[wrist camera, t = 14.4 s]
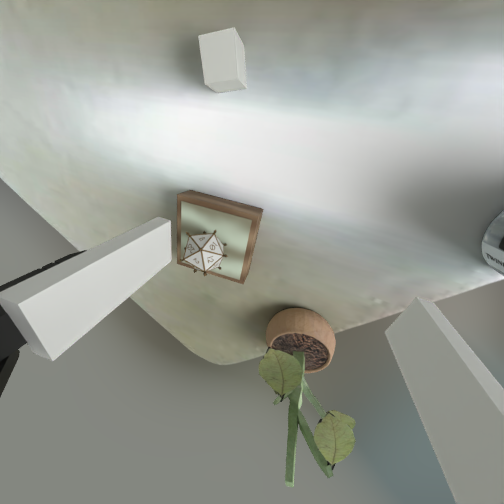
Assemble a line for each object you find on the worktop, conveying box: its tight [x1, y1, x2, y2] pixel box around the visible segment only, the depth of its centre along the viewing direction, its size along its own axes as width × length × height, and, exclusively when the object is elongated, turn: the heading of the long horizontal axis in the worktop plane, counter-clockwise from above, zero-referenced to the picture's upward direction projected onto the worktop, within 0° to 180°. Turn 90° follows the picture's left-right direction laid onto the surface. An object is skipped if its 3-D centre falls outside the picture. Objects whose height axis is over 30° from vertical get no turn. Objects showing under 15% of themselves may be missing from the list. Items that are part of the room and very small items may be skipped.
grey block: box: [198, 28, 247, 93], centre depth 28 cm, size 5×5×5 cm
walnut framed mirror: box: [177, 190, 263, 284], centre depth 41 cm, size 16×16×5 cm
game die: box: [179, 230, 228, 276], centre depth 36 cm, size 9×8×10 cm
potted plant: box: [259, 308, 355, 487], centre depth 37 cm, size 22×18×30 cm
